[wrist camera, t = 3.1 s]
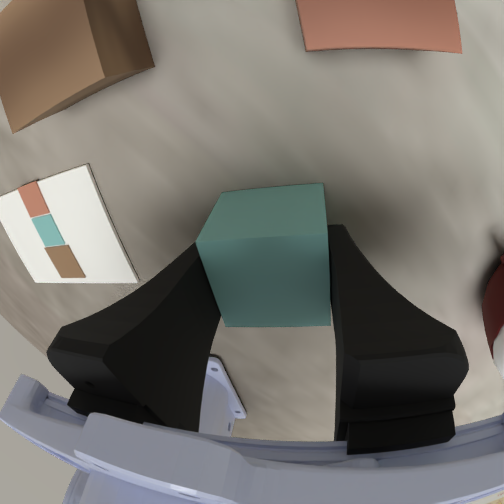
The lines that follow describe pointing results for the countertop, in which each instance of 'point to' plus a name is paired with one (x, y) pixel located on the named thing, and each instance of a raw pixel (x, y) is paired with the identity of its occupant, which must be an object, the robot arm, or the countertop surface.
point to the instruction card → (65, 231)
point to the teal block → (269, 256)
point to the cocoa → (495, 316)
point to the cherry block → (379, 25)
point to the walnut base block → (66, 53)
